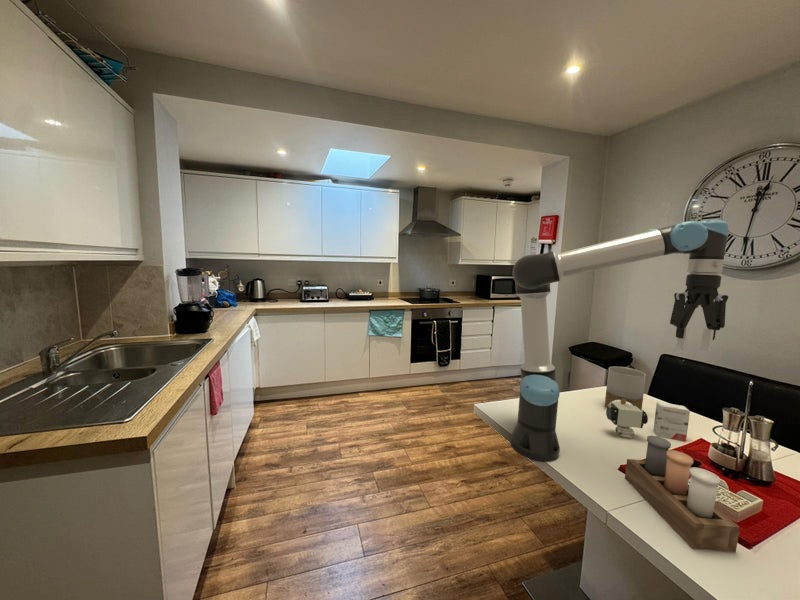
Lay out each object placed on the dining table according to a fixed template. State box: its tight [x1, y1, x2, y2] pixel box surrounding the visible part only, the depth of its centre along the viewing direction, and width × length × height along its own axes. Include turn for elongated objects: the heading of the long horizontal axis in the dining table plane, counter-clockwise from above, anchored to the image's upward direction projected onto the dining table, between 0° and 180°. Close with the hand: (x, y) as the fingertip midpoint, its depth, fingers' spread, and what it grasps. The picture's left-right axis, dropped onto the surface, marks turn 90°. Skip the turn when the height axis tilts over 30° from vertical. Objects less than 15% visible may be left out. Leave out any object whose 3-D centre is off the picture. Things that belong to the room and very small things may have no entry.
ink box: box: [653, 401, 691, 443], centre depth 116 cm, size 9×5×12 cm, turn 65°
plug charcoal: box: [645, 435, 672, 477], centre depth 86 cm, size 5×5×9 cm
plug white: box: [686, 466, 721, 519], centre depth 72 cm, size 5×5×9 cm
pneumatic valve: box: [605, 402, 649, 439], centre depth 115 cm, size 6×12×12 cm, turn 79°
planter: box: [604, 366, 647, 410], centre depth 136 cm, size 13×13×18 cm
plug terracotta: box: [664, 449, 694, 496], centre depth 79 cm, size 5×5×9 cm
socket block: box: [624, 458, 741, 553], centre depth 80 cm, size 9×23×6 cm, turn 176°
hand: (693, 349), depth 97 cm, fingers open, 6 cm apart
